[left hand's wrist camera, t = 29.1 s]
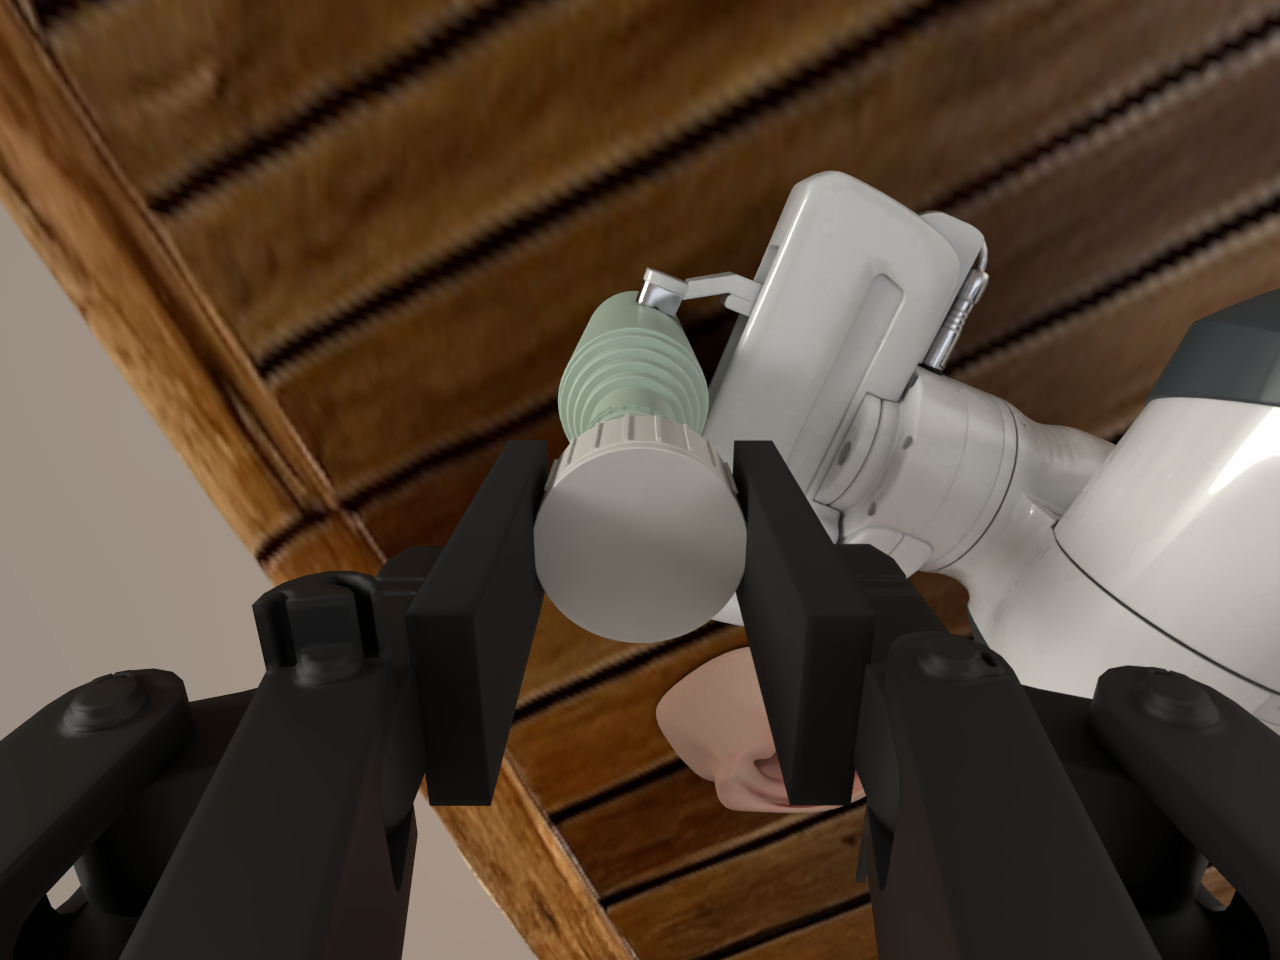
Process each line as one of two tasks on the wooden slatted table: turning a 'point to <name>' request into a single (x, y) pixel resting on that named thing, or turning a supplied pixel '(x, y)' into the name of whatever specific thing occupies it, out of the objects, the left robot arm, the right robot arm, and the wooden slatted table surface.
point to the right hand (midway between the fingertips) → (614, 355)
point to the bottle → (632, 370)
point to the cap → (640, 530)
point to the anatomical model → (730, 735)
